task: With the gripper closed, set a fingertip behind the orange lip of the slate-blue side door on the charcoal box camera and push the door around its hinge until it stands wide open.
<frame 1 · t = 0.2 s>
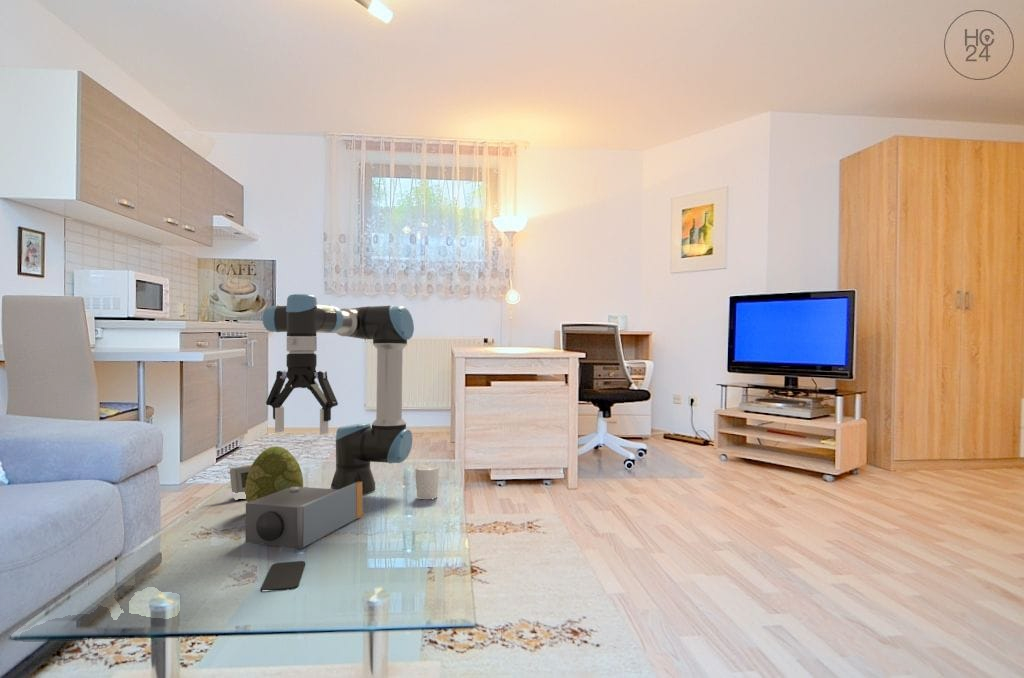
hand: (301, 432, 152), 27 cm above the table, tool pointing down, fingers open, 13 cm apart
side door: (332, 511, 156), point 6 cm above the table, hinge at 0.0°
camera body: (295, 533, 155), on the table
white cup: (427, 498, 192), on the table
decorative sculpture: (274, 513, 175), on the table
phone: (284, 579, 125), on the table
digital clock: (256, 497, 195), on the table
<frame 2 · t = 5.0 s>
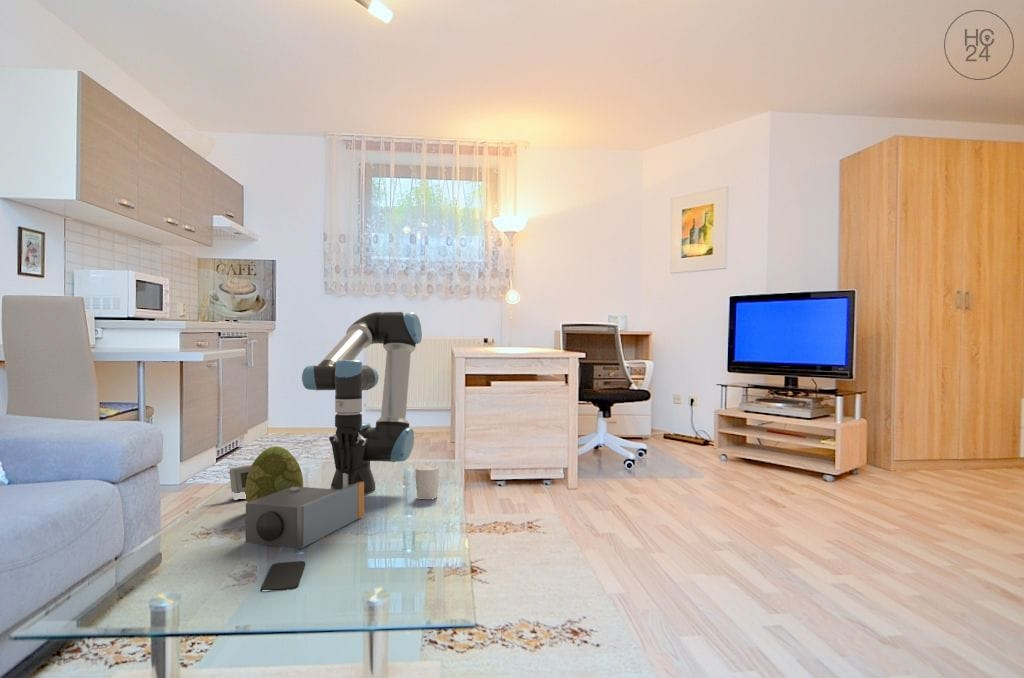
hand: (347, 495, 166), 8 cm above the table, tool pointing down, fingers closed
side door: (333, 512, 156), point 6 cm above the table, hinge at 1.2°, touching gripper
everything else where it was.
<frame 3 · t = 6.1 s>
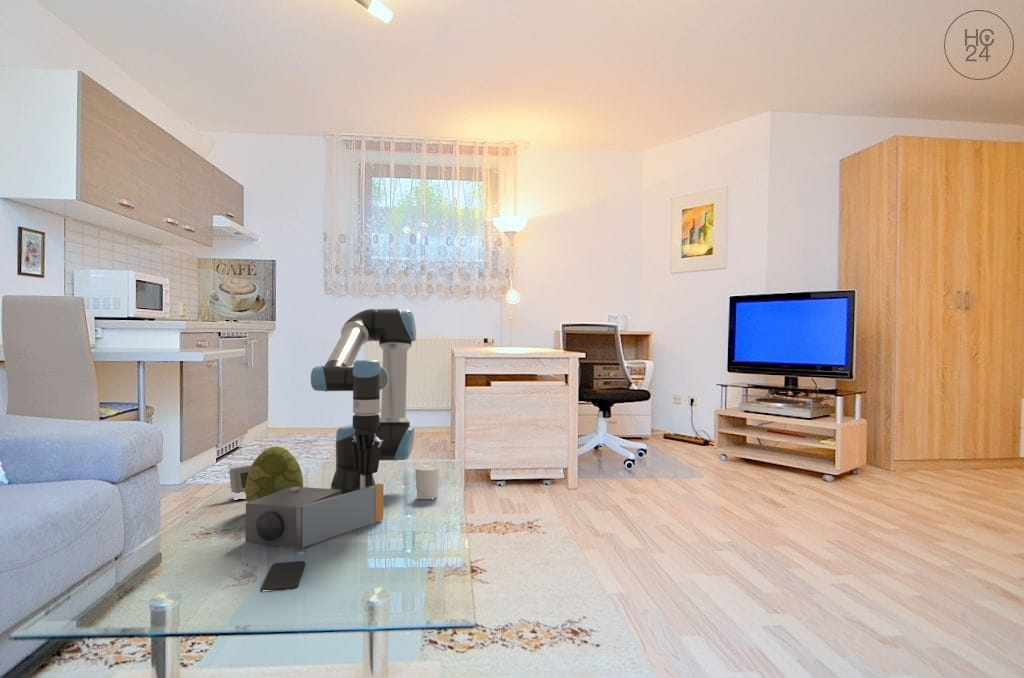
hand: (365, 497, 163), 8 cm above the table, tool pointing down, fingers closed
side door: (342, 513, 154), point 5 cm above the table, hinge at 16.0°, touching gripper
everything else where it was.
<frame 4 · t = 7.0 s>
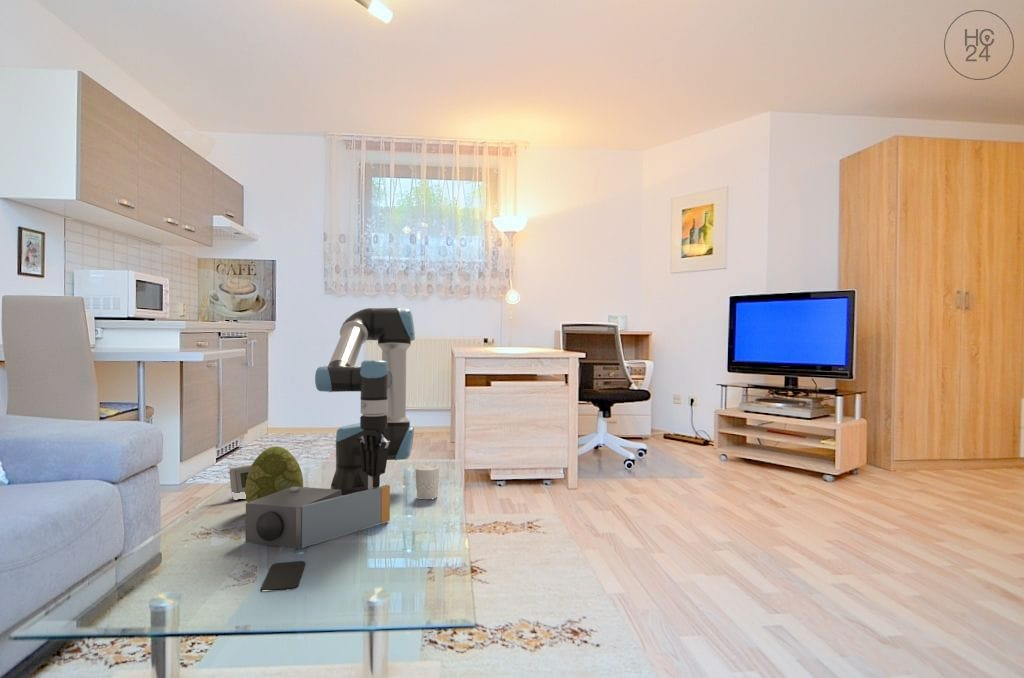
hand: (373, 498, 163), 7 cm above the table, tool pointing down, fingers closed
side door: (345, 514, 153), point 6 cm above the table, hinge at 21.7°, touching gripper
everything else where it was.
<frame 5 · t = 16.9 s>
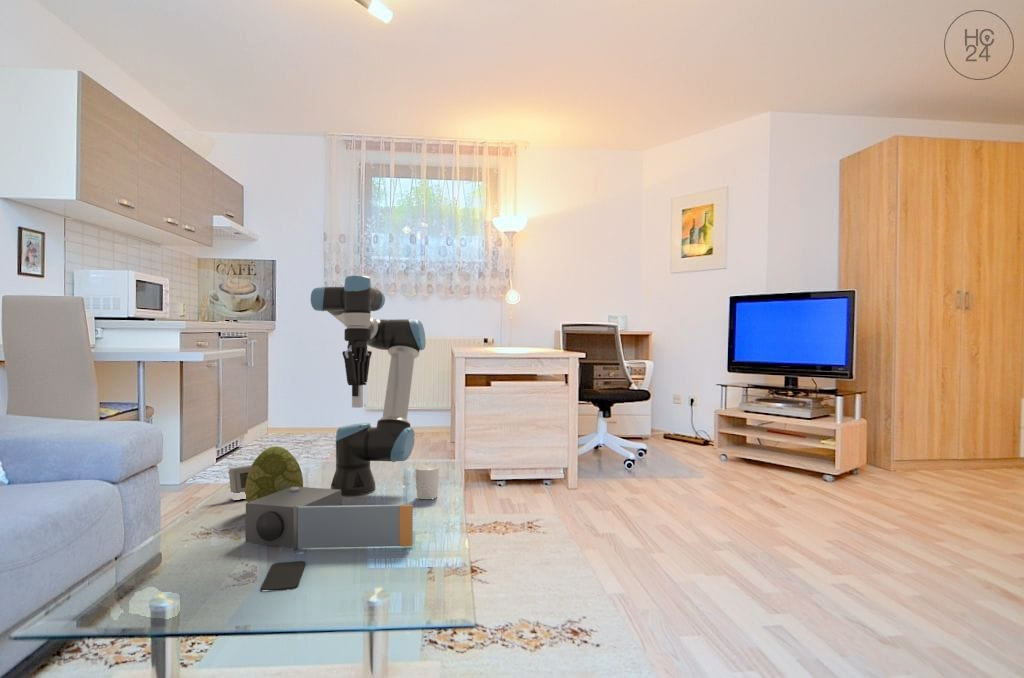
hand: (357, 407, 171), 32 cm above the table, tool pointing down, fingers closed
side door: (353, 526, 143), point 6 cm above the table, hinge at 71.8°
everything else where it was.
at the end: side door at +72° (first picture: +0°) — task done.
